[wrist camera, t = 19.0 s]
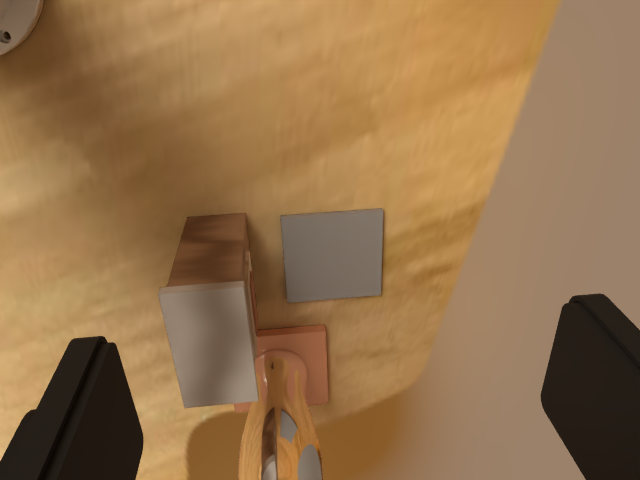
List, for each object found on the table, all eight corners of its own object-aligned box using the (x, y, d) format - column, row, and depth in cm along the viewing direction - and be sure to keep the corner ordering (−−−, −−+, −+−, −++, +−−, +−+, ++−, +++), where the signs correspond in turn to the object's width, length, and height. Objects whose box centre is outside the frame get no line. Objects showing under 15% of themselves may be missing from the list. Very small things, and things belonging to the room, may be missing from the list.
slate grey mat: (287, 299, 49) (287, 302, 49) (280, 215, 45) (280, 218, 44) (379, 291, 50) (380, 295, 49) (382, 208, 46) (383, 211, 45)
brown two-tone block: (201, 313, 49) (184, 408, 39) (183, 214, 44) (158, 294, 34) (261, 308, 50) (260, 400, 39) (250, 209, 44) (245, 287, 34)
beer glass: (250, 401, 54) (245, 543, 41) (237, 351, 51) (227, 490, 38) (315, 390, 54) (331, 529, 41) (306, 340, 51) (320, 475, 38)
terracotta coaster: (235, 405, 56) (235, 412, 55) (224, 333, 51) (223, 339, 50) (327, 396, 56) (328, 403, 55) (324, 324, 51) (325, 331, 50)
